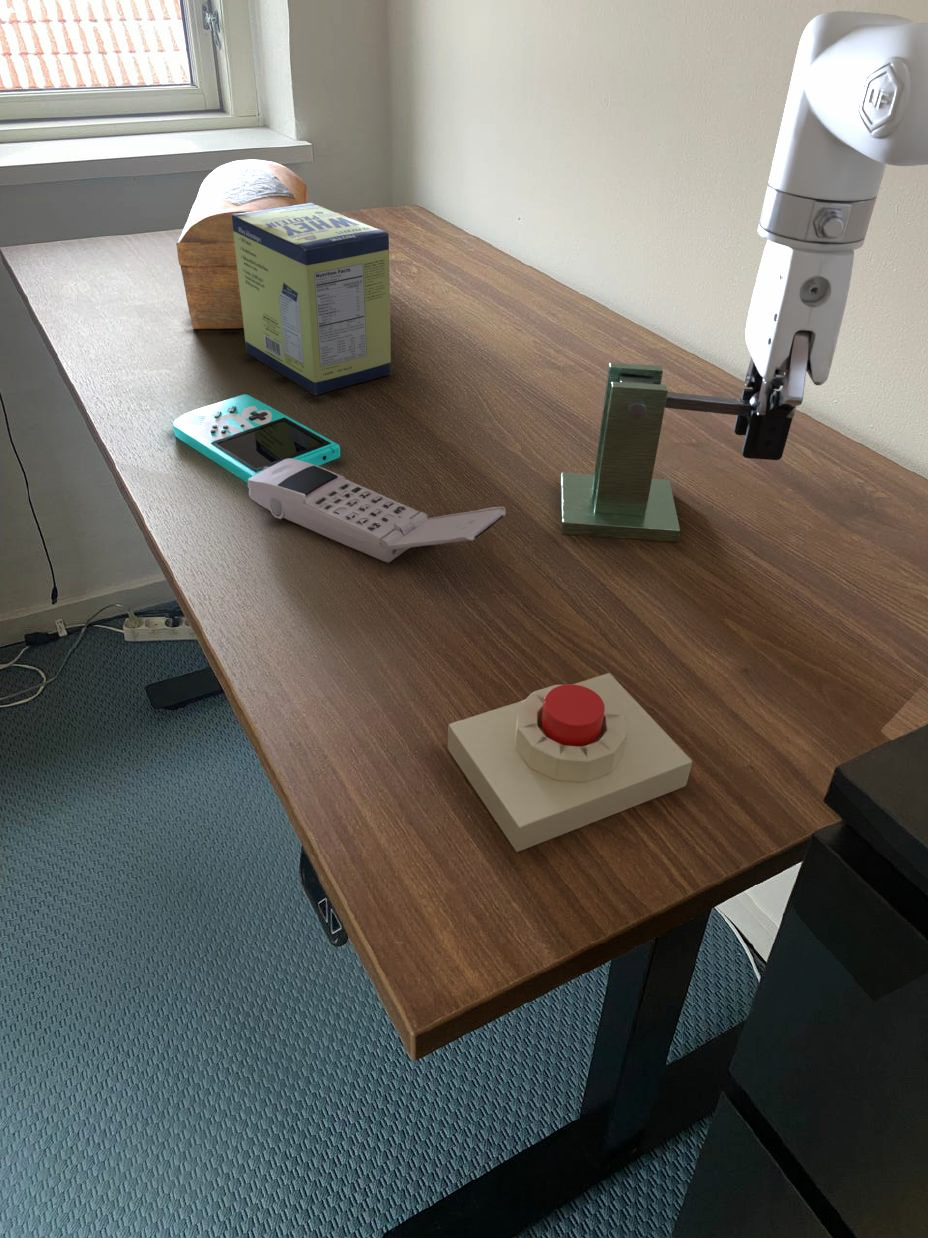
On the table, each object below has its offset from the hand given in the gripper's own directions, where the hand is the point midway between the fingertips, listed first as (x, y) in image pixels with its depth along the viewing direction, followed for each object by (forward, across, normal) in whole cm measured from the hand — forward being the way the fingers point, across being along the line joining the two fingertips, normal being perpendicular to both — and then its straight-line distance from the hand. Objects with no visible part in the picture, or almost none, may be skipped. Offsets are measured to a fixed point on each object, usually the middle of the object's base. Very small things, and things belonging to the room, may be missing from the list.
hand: (756, 443), depth 78 cm
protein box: (+8, +29, +44) cm, 53 cm away
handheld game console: (+8, +8, +46) cm, 47 cm away
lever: (-2, 0, +5) cm, 5 cm away
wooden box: (+8, +53, +57) cm, 78 cm away
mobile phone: (+8, -7, +33) cm, 34 cm away
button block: (+7, -32, +16) cm, 36 cm away
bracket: (+8, 0, +11) cm, 13 cm away
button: (+4, -32, +16) cm, 36 cm away
